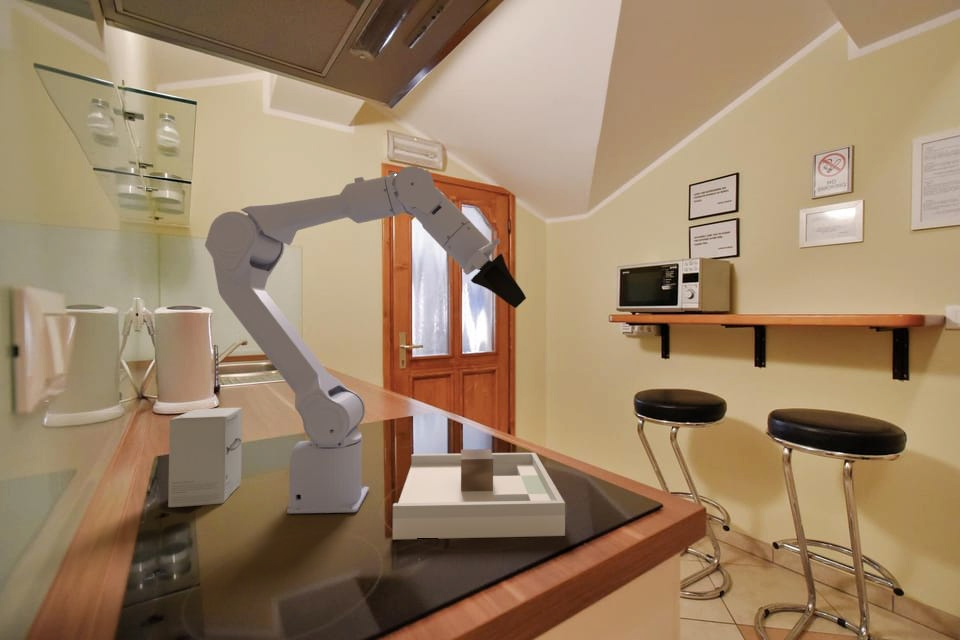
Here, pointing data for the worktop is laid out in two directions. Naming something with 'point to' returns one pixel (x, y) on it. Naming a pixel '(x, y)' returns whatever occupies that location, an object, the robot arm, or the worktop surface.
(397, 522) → the box
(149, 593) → the worktop surface
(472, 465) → the walnut block
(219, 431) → the supplement box
